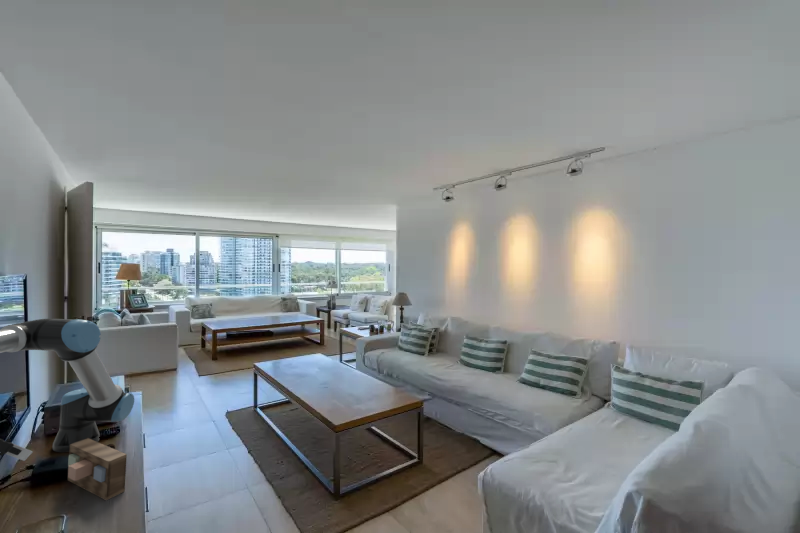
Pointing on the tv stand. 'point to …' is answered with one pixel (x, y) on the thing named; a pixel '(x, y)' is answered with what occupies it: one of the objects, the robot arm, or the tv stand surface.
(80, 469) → the terracotta key
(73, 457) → the sage key
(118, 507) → the tv stand surface
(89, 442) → the wooden block
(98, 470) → the slate key
